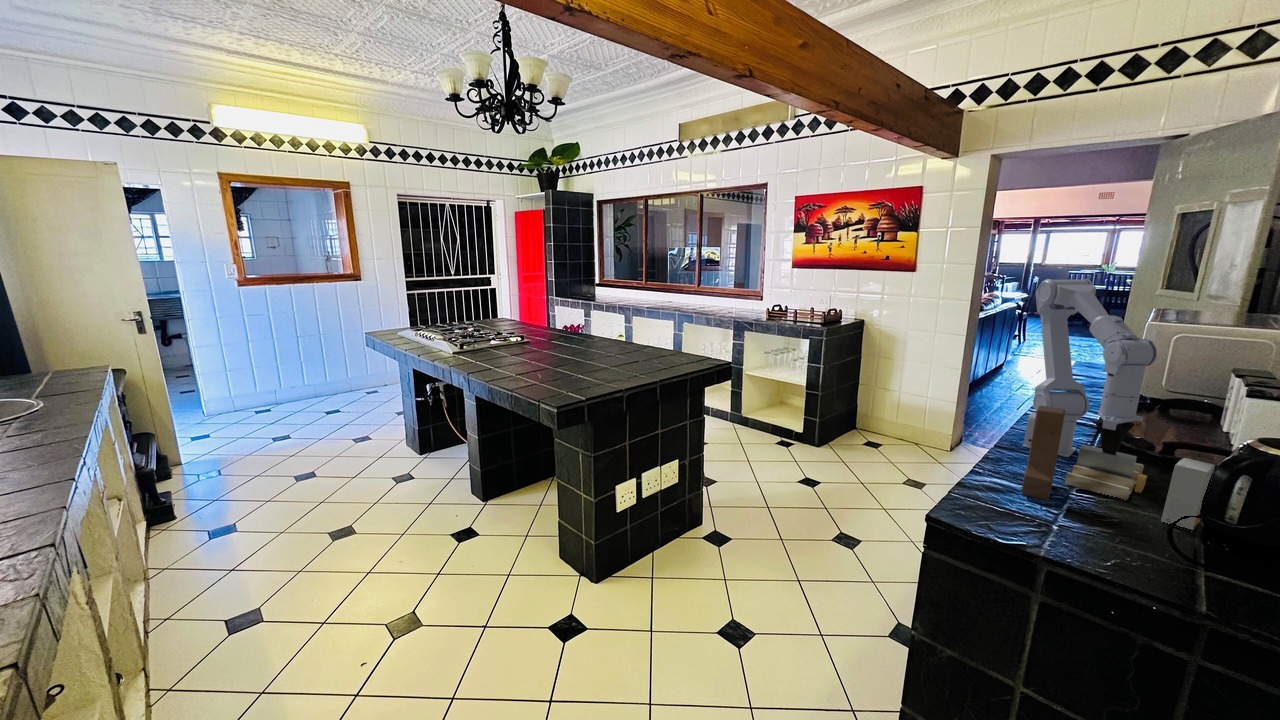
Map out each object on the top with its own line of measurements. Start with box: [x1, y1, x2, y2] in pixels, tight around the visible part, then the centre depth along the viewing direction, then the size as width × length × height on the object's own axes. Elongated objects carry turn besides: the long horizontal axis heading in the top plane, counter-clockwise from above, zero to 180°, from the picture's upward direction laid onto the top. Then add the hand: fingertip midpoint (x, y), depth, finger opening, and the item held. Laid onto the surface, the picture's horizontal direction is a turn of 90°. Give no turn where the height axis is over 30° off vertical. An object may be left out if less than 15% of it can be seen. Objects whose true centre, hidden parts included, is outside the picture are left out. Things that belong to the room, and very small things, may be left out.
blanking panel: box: [1076, 444, 1138, 479], centre depth 111 cm, size 9×3×6 cm, turn 38°
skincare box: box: [1160, 457, 1216, 531], centre depth 92 cm, size 6×4×12 cm
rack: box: [1064, 462, 1148, 501], centre depth 110 cm, size 11×18×3 cm, turn 128°
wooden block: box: [1021, 406, 1065, 501], centre depth 105 cm, size 9×4×18 cm, turn 137°
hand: (1109, 452), depth 110 cm, fingers closed
